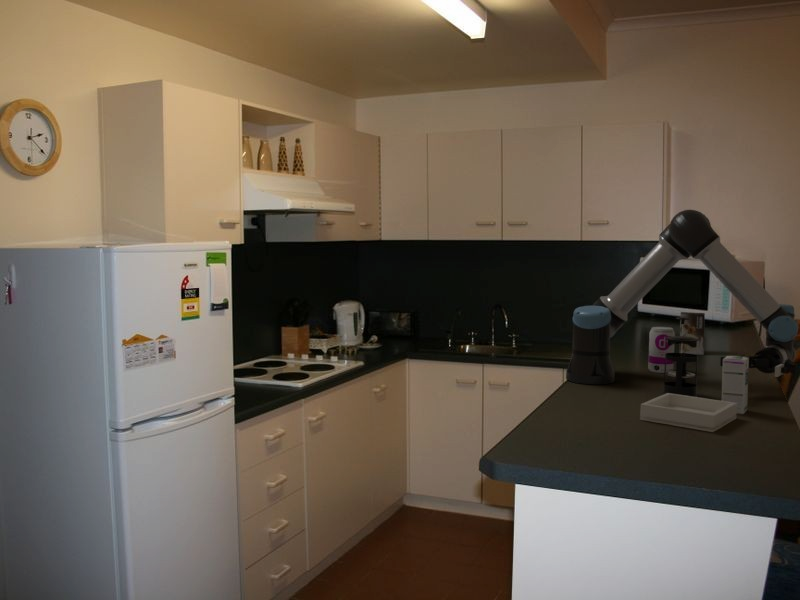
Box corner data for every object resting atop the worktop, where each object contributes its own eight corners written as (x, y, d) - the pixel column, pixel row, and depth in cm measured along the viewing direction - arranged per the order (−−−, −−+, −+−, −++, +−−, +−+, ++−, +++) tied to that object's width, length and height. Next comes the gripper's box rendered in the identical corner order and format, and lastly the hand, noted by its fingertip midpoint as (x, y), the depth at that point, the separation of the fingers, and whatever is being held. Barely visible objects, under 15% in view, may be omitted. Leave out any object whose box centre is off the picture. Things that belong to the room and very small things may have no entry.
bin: (640, 419, 191) (640, 404, 191) (666, 407, 205) (667, 392, 204) (713, 432, 179) (713, 415, 179) (736, 418, 193) (737, 403, 193)
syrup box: (744, 414, 197) (747, 359, 196) (720, 411, 200) (722, 357, 199) (747, 410, 202) (750, 356, 200) (723, 407, 205) (726, 354, 204)
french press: (695, 400, 213) (698, 320, 211) (660, 397, 217) (663, 318, 215) (698, 393, 223) (702, 316, 221) (665, 389, 227) (668, 314, 225)
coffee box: (703, 352, 299) (705, 312, 298) (703, 355, 293) (705, 314, 292) (679, 351, 302) (680, 311, 301) (678, 353, 297) (680, 313, 295)
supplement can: (675, 374, 253) (676, 329, 252) (649, 372, 255) (651, 329, 254) (671, 369, 261) (673, 326, 260) (646, 368, 263) (648, 326, 262)
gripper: (816, 376, 216) (798, 388, 200) (726, 367, 232) (702, 377, 216) (817, 350, 216) (800, 360, 199) (726, 342, 232) (703, 351, 215)
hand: (749, 369), depth 208 cm, fingers open, 13 cm apart
